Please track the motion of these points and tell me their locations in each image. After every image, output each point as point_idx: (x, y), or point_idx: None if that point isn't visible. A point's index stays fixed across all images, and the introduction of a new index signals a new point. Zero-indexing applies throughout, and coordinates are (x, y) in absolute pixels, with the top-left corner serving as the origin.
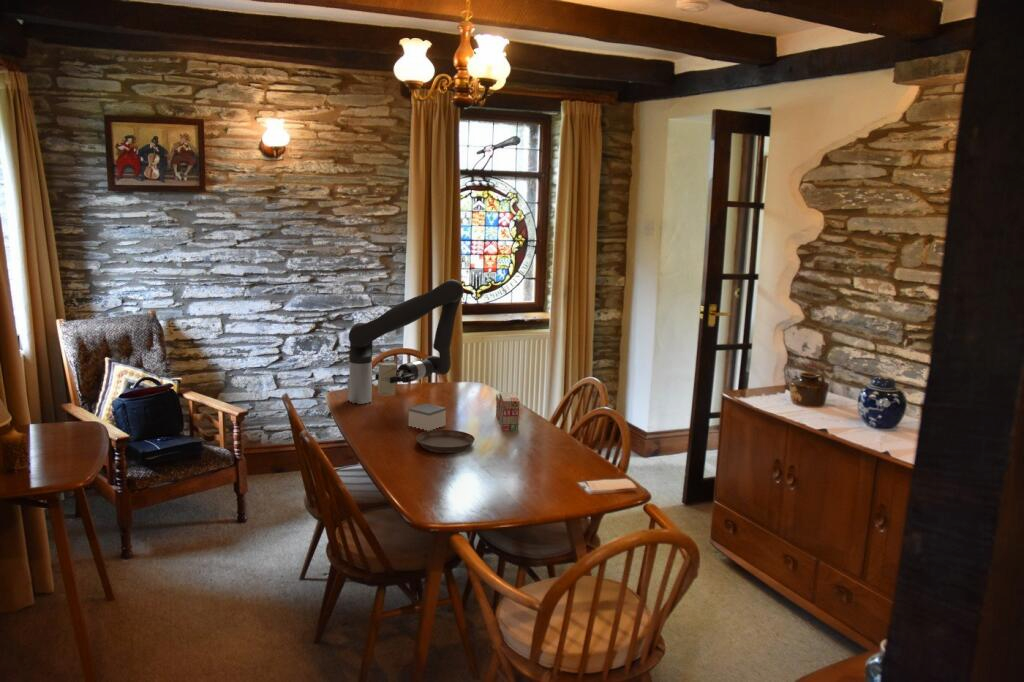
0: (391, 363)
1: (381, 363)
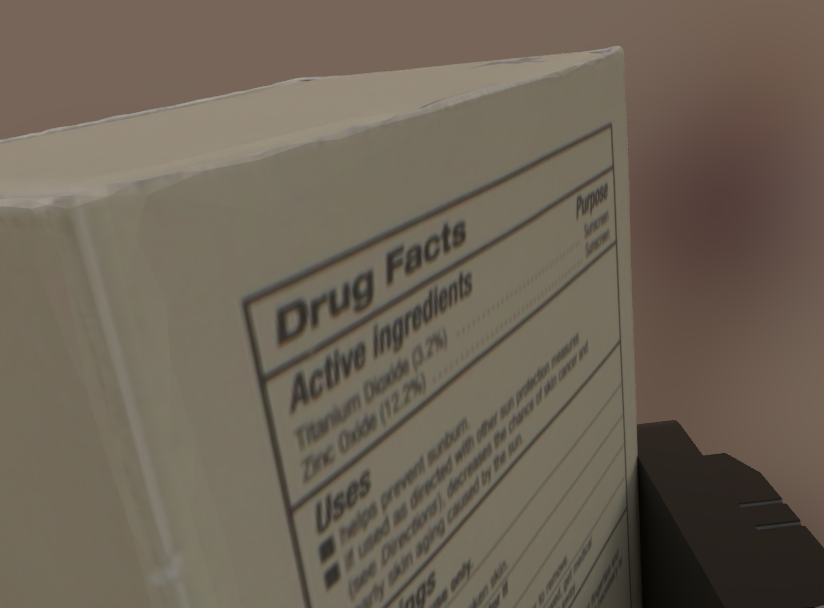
0: (120, 139)
1: (467, 67)
